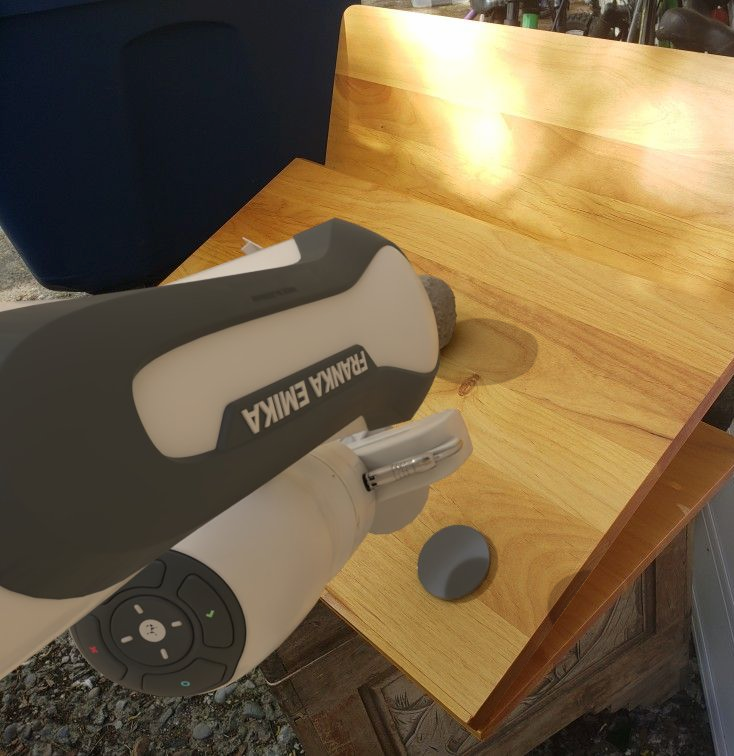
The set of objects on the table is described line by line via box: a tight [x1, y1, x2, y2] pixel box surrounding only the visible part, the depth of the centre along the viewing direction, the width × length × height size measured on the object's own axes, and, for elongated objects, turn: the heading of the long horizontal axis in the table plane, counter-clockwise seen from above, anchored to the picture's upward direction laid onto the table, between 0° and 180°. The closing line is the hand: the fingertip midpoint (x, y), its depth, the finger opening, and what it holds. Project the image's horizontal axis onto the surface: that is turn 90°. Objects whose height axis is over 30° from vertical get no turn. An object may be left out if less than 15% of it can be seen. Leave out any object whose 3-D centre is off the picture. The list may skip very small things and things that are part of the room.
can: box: [338, 425, 431, 536], centre depth 56 cm, size 8×8×12 cm
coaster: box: [416, 524, 492, 601], centre depth 68 cm, size 8×8×1 cm
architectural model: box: [240, 236, 264, 255], centre depth 101 cm, size 3×7×7 cm, turn 49°
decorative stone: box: [418, 274, 458, 350], centre depth 83 cm, size 10×8×10 cm
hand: (359, 456), depth 56 cm, fingers closed on can, 7 cm apart
